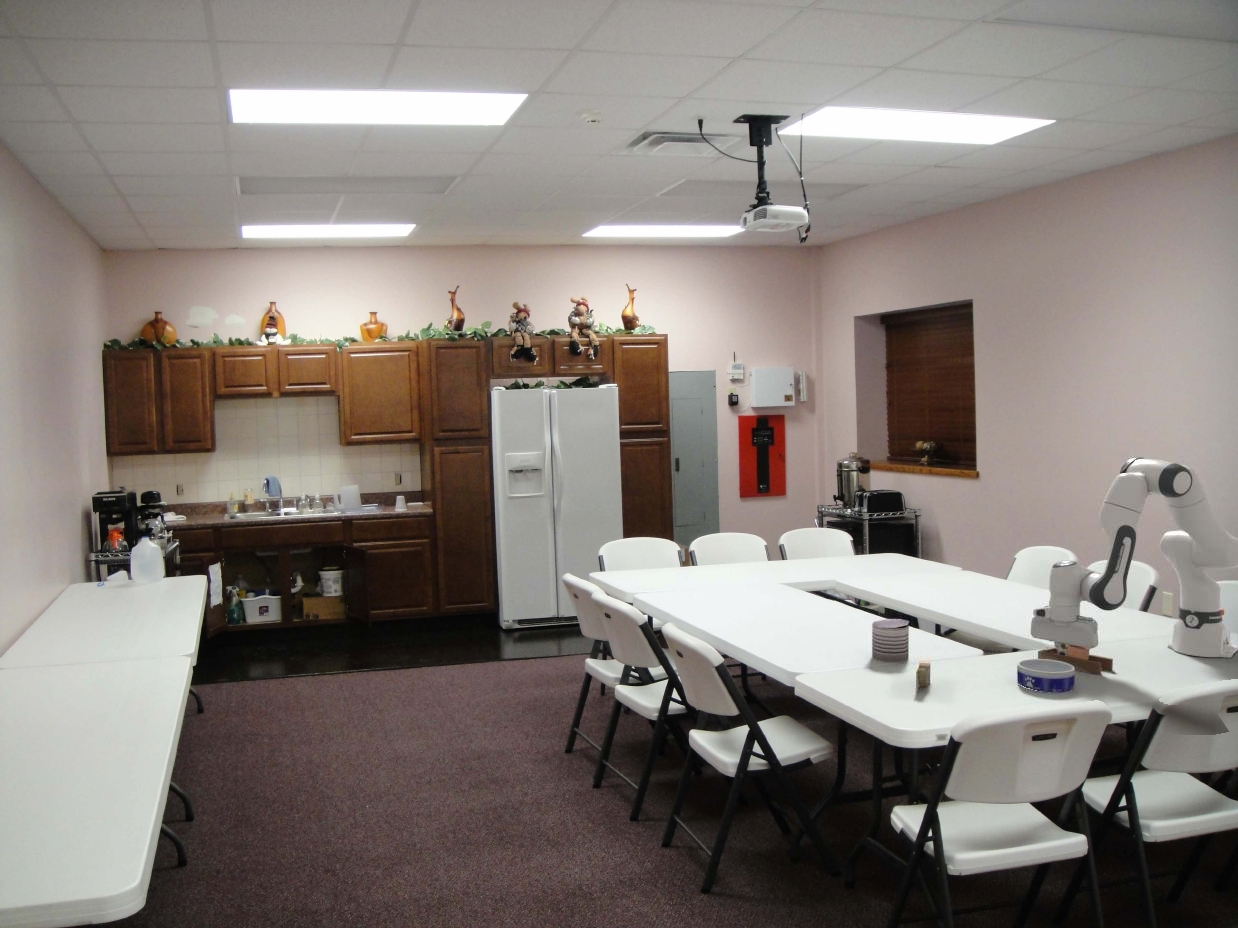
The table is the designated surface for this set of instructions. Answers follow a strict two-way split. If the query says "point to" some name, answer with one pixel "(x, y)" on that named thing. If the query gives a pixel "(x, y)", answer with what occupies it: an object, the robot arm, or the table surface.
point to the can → (890, 640)
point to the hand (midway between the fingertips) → (1063, 656)
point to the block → (1078, 652)
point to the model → (922, 674)
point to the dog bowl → (1046, 675)
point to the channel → (1079, 661)
